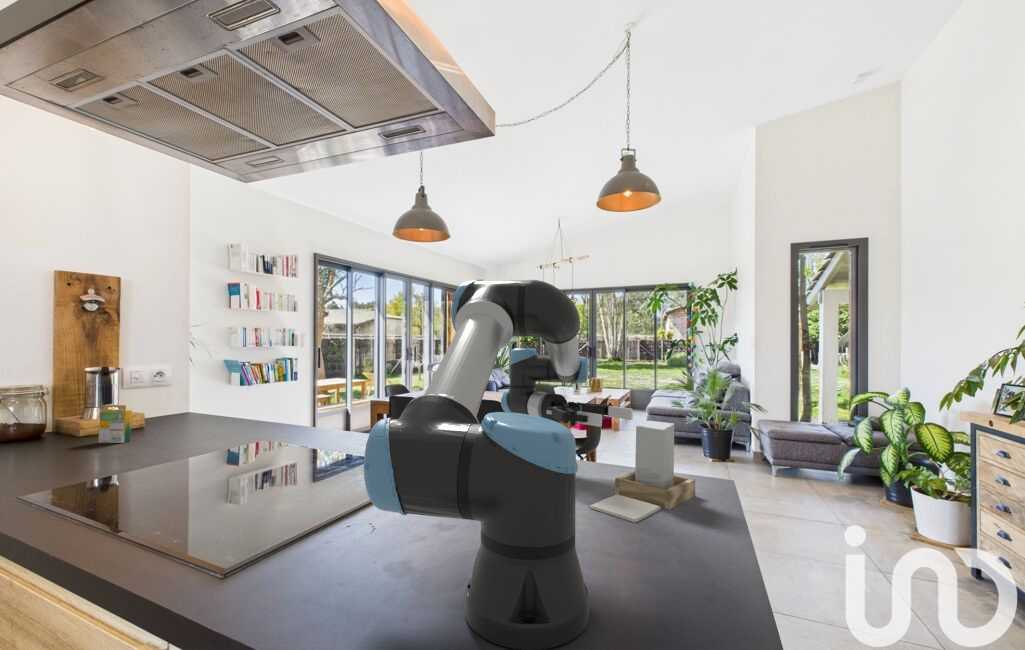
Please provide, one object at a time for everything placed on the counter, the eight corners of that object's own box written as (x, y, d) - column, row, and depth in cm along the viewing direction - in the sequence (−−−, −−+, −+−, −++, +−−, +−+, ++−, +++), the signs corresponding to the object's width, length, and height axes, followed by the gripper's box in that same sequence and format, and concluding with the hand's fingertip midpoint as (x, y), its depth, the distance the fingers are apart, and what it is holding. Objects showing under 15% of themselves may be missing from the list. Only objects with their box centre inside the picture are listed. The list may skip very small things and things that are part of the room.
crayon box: (130, 441, 143) (132, 404, 144) (123, 443, 141) (125, 405, 141) (105, 441, 143) (107, 404, 143) (97, 443, 140) (100, 405, 140)
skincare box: (647, 487, 105) (647, 419, 106) (676, 493, 101) (676, 423, 102) (633, 497, 98) (634, 424, 99) (664, 503, 95) (664, 428, 95)
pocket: (669, 509, 91) (669, 491, 91) (615, 494, 100) (615, 478, 100) (695, 495, 100) (695, 479, 100) (643, 482, 109) (643, 468, 109)
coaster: (635, 522, 84) (635, 519, 84) (590, 508, 91) (590, 505, 91) (660, 509, 91) (660, 506, 91) (617, 497, 98) (617, 494, 98)
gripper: (576, 416, 131) (643, 426, 117) (516, 426, 114) (586, 441, 99) (576, 390, 132) (643, 397, 117) (516, 396, 114) (586, 406, 99)
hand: (617, 417), depth 108 cm, fingers open, 13 cm apart
